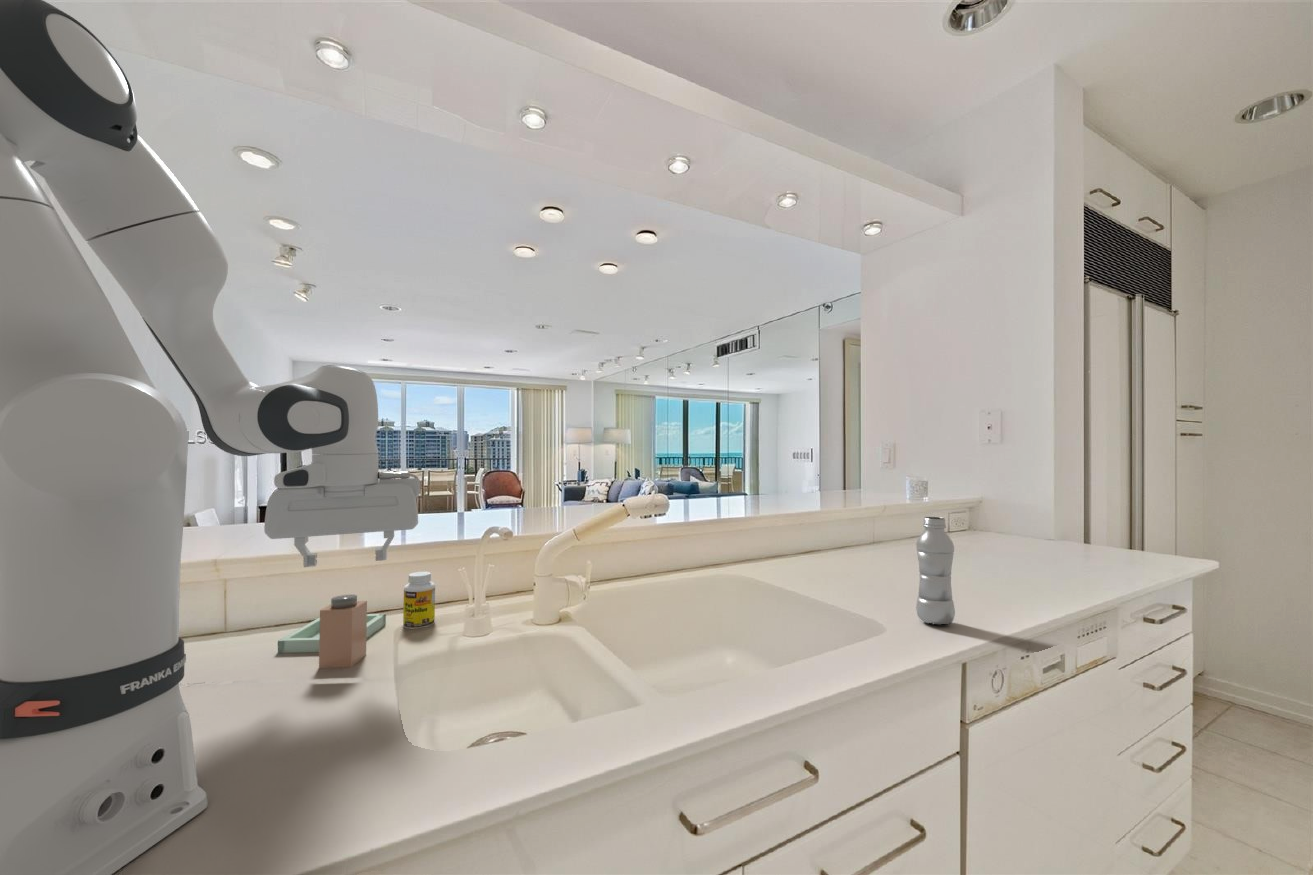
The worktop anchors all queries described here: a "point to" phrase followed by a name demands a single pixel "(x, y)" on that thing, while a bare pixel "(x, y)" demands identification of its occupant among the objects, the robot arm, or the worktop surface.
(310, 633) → the tray
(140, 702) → the robot arm
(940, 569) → the plastic bottle
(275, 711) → the worktop surface
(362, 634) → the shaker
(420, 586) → the supplement bottle
